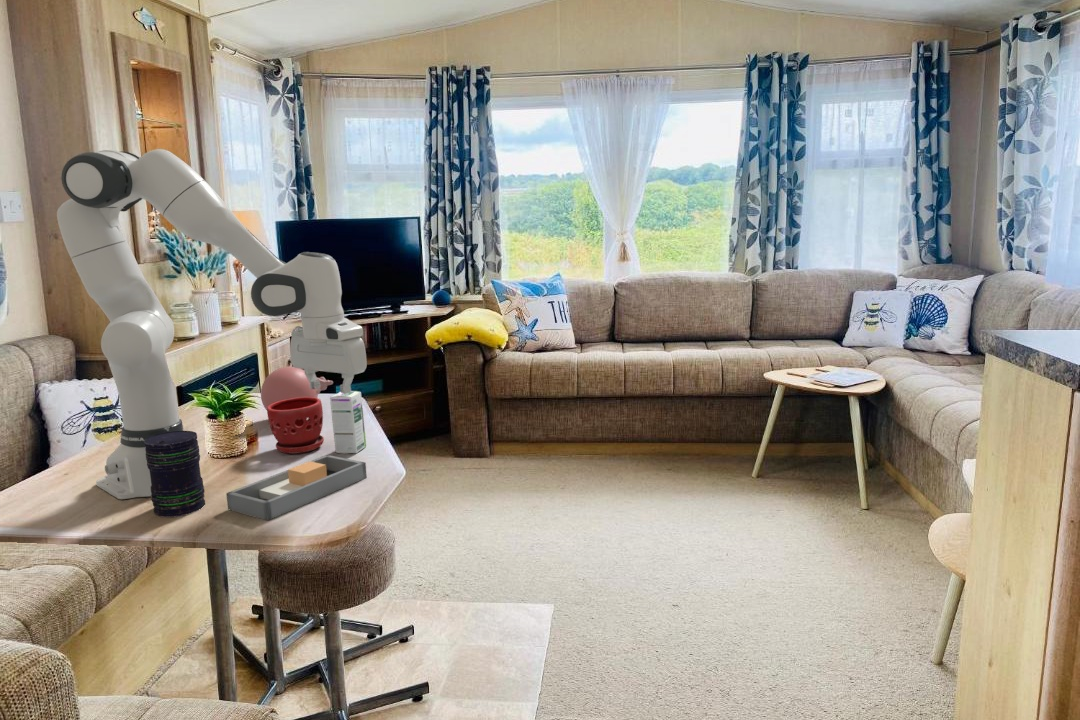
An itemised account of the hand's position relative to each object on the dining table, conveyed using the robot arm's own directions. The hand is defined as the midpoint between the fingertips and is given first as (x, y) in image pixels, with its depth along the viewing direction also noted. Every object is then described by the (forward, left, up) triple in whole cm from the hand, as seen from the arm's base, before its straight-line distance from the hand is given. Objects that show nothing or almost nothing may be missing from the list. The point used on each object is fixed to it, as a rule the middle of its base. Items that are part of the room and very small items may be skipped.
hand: (330, 390), depth 172 cm
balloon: (-47, +31, -20) cm, 60 cm away
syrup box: (-12, +16, -20) cm, 28 cm away
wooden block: (0, -8, -18) cm, 20 cm away
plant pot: (-25, +11, -20) cm, 34 cm away
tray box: (0, -11, -20) cm, 23 cm away
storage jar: (-16, -28, -20) cm, 38 cm away
